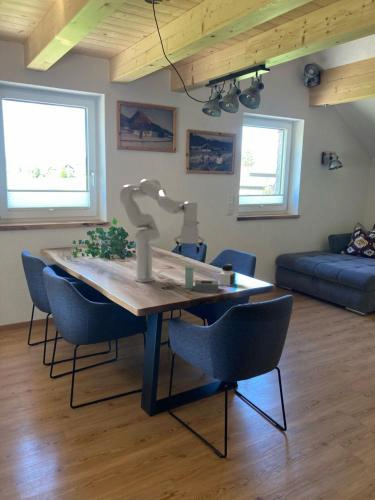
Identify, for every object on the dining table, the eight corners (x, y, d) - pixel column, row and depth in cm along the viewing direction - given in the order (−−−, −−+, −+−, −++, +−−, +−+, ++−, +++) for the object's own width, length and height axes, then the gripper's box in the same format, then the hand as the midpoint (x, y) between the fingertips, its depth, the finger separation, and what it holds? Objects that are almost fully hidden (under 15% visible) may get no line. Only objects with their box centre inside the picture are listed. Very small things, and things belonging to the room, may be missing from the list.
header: (195, 287, 231) (195, 280, 230) (217, 288, 230) (217, 280, 229) (194, 291, 222) (195, 284, 221) (218, 292, 221) (218, 284, 221)
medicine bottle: (230, 286, 235) (230, 266, 233) (219, 284, 238) (219, 265, 236) (234, 283, 241) (235, 264, 239) (223, 282, 244) (224, 263, 242)
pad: (183, 285, 234) (183, 285, 234) (195, 286, 234) (195, 285, 234) (182, 289, 227) (182, 288, 227) (195, 289, 227) (195, 288, 227)
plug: (185, 285, 233) (185, 265, 231) (193, 286, 233) (193, 266, 230) (184, 287, 228) (185, 267, 226) (193, 288, 228) (193, 267, 226)
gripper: (205, 223, 227) (203, 252, 231) (175, 222, 228) (174, 251, 231) (205, 224, 220) (203, 255, 223) (174, 223, 221) (173, 253, 224)
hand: (188, 253), depth 227 cm, fingers open, 9 cm apart
